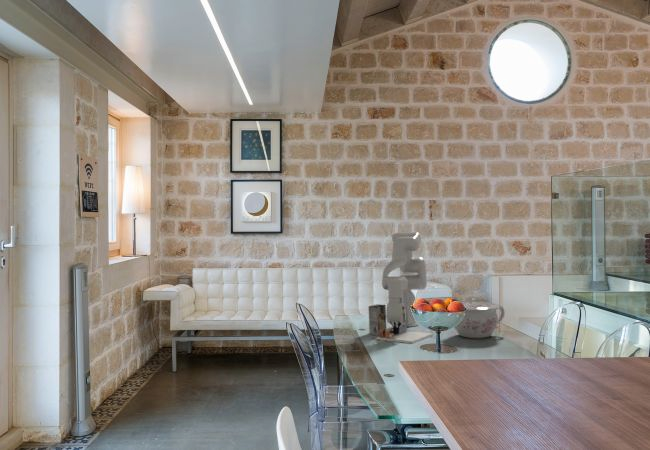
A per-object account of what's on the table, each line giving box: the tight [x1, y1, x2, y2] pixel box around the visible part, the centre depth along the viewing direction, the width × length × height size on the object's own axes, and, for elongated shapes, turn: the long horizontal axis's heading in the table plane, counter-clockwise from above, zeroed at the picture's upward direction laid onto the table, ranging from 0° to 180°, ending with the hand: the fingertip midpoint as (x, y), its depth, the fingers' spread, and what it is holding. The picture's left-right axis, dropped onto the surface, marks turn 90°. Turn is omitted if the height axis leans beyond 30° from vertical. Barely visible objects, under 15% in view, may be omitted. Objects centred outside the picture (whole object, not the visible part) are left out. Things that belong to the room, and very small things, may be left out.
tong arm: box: [385, 326, 405, 338], centre depth 302 cm, size 19×3×4 cm, turn 145°
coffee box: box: [368, 304, 387, 336], centre depth 317 cm, size 9×6×16 cm
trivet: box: [376, 330, 434, 344], centre depth 302 cm, size 24×22×1 cm
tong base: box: [378, 322, 408, 338], centre depth 305 cm, size 22×5×5 cm, turn 142°
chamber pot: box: [453, 298, 506, 340], centre depth 299 cm, size 28×28×21 cm
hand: (396, 334), depth 297 cm, fingers closed
